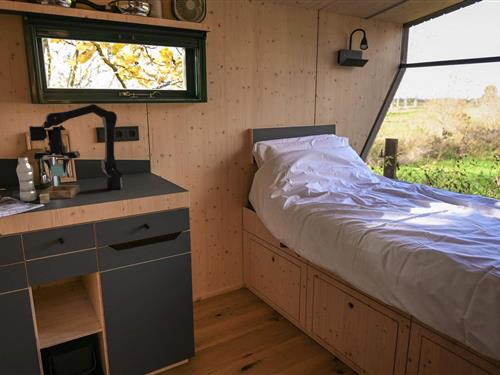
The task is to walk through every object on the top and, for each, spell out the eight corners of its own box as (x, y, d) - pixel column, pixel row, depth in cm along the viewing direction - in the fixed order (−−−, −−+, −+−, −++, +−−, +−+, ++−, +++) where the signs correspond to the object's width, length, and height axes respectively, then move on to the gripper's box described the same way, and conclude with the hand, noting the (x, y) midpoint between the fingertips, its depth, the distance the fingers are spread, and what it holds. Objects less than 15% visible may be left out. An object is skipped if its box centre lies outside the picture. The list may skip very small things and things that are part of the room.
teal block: (66, 174, 180) (65, 163, 178) (63, 176, 175) (62, 165, 174) (55, 174, 179) (54, 164, 178) (51, 176, 174) (50, 165, 173)
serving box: (79, 191, 187) (78, 185, 186) (71, 198, 174) (70, 191, 173) (52, 192, 185) (51, 185, 184) (41, 199, 172) (40, 192, 172)
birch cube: (49, 201, 170) (48, 193, 169) (49, 202, 167) (48, 195, 166) (40, 201, 168) (39, 194, 167) (40, 203, 165) (39, 196, 164)
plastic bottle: (24, 199, 172) (18, 156, 168) (40, 199, 173) (34, 156, 168) (17, 203, 166) (10, 158, 161) (33, 202, 166) (27, 158, 162)
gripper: (81, 138, 182) (84, 169, 186) (40, 138, 180) (44, 170, 183) (74, 140, 172) (78, 173, 175) (31, 141, 169) (35, 174, 172)
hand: (59, 173), depth 177 cm, fingers closed on teal block, 5 cm apart
